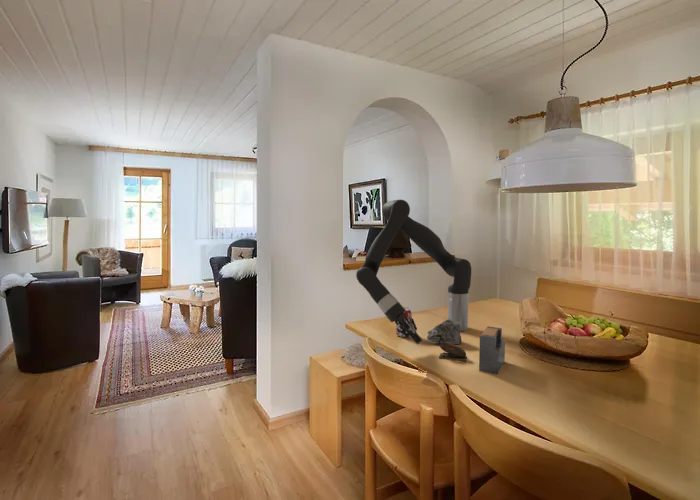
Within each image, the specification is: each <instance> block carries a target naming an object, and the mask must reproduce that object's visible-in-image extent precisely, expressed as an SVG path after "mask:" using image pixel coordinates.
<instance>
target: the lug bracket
mask: <svg viewBox="0 0 700 500" xmlns="http://www.w3.org/2000/svg"><path fill="white" fill-rule="evenodd" d="M478 354H479V356H478V357H479V358H478V359H479V361H478V362H479V363H478V364H479V365H478V371H479V372H484V373H490V374H496V375H499V373H500V372H501V369H502V368H503V366H504V364H505V362H506V361H505V358H506V357H505V355H506V340H505V339H503V328H502V327H494V326H487V327H486V328H485V329H484V330H483V332H481V334H480V335H479V353H478Z"/></svg>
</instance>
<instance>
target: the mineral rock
mask: <svg viewBox="0 0 700 500" xmlns="http://www.w3.org/2000/svg"><path fill="white" fill-rule="evenodd" d="M461 332H462V331H461V330H460V324H459V322H453V321H451V320H448V319H446V320H443V321H442V322H441V323H439V324H437V325H436V326H435V327H434V328H432V329H429V330H428V331H427V334H428V335H427V337H426V340H427V341H429V342H433V343H437V344H439V343H438V341H439V339H440V337H432V336H434V335H438V334H441V335H442V339H441V341H440V343H443V342H450V343H452V344H455V345H461V343H462V335H461ZM431 337H432V338H431ZM430 338H431V339H430ZM429 339H430V340H429Z"/></svg>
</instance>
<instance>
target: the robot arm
mask: <svg viewBox="0 0 700 500" xmlns="http://www.w3.org/2000/svg"><path fill="white" fill-rule="evenodd" d="M381 211H382V215H383V217H384V219H385V220H386V221H387V222H386V224H385V226H384V227H383V229H381V231H380V232H379V234H378V235H377V236H376V237H375V238H374V240H373V242H372V243H371V245H370V247H369V249H368V251H367V253H366V256H365V260H364V264H363V266H362V267H360V268H358V269H357V271H356V272H355V273H356V274H355V275H356V276H355V278H356V280H357V281H358V283H359V284H360V285H361V286H363V288H364V289H365V290H366V291H367V293H368V294H369V295H370V297H371V298H372V299H373V301H374V302H375V303H376V305H377V306H378V308H379V309H380V310H381V312H382V313H383V314H384V315H385V317H386V318H387V319H388V320H389V322H390V323H393V322H395V326H396V325H398V328H396V327H395V331H396V330H397V331H399V332H400V333H402V334H404V335H405V336H407V337H406V338H408V337H409V338H412V339H413V341H414V342H415V343H416V344H417V345H419V344H420V343H421V342H422V341H423V338H422V337H421V336H420V335H419V334H418V332H417V330H418V328H417V325H416V322H415V320H414V318H413V317H412V318H411V319H409V318H408V317H407V316H406V315H405V314H404V312H405V309H404V308H403V307H404V306H403V305H402V303H400V301H398V299H397V298H396V297H395V296H394V295H393V294H392V293H391V292H390V291H389V290H388V288H387V287H386V286H385V285H384V284H383V283H382V282H381V281H380V279H379V278H378V272H379V269H380V266H381V264H382V263H383V260H384V258H385V256H386V253H387V251H388V249H390V248H389V247H390V246H391V244H392V242H393V241H394V238H395V237H396V236H397V234H398V233H399V231H401V232H402V233H403V234H405V236H406V237H408V238H409V240H411V241H412V242H413V243H414V244H415V245H416V246H417V247H418V248H420V249H421V251H423V252H424V253H425V254H427V255H428V256H429V257H430V258H431V259H433V260H434V261H435V262H436V263H437V264H438V266H440V268H442V270H443V271H444V273H446V274H447V275H448V276H449V277H451V278H453V283H452V284H450V285H449V286H448V287H447V320H451V321H453V322H459V324H460V330H461V331H460V332H464V331H468V329H469V328H468V326H469V325H468V324H469V290H470V287H471V281H472V265H471V261H469V260H468V259H465V258H460V257H456V256H454V255H453V254H452V253H450V252H449V251H447V250H446V248H445V247H444V244H443V242H442V239H441V238H440V237H439V236H438V235H437V234H436V233H435V232H434V231H433V230H432V229H431V228H429V227H427V226H425V225H424V224H422V223H420V222H418V221H416V220H414V219H413V218H411V217H410V216H409V215H410V212H411V207H410V204H409V203H408V202H407V201H406V200H404V199H395V200H389V201H388V202H385V203H384V205H383V206H382V209H381Z"/></svg>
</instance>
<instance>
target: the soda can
mask: <svg viewBox="0 0 700 500" xmlns="http://www.w3.org/2000/svg"><path fill="white" fill-rule="evenodd" d="M403 308H404V309H405V312H404V314H405V315H406V316H407V317H408V318H409V319H411V318H413V315H412V311H411V308H410V307H404V306H403ZM396 328H398V325H396V324H395V334H396V335H397V336H398V337H401V338H408V337H407V336H405V335H404V334H402V333H400V332H399V331H397V330H396Z"/></svg>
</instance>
